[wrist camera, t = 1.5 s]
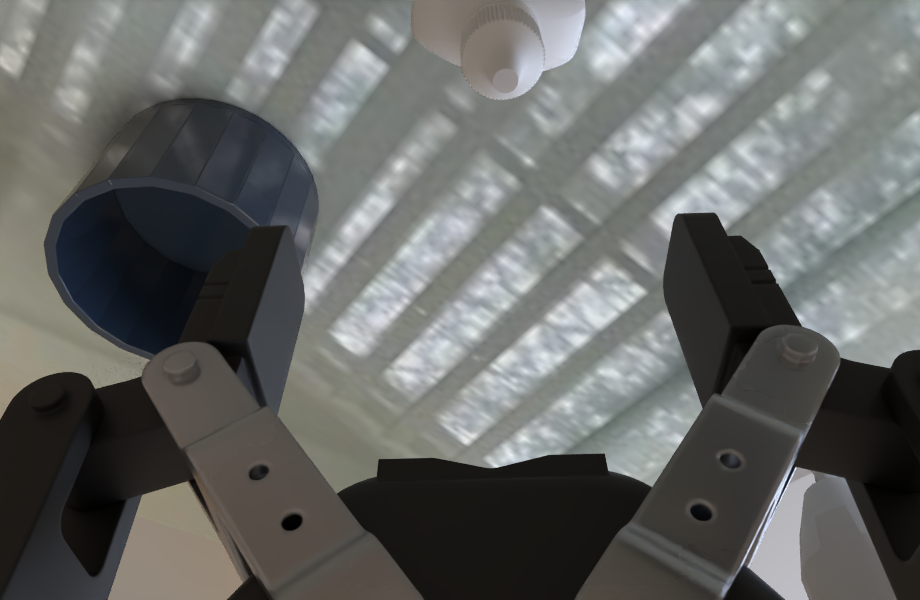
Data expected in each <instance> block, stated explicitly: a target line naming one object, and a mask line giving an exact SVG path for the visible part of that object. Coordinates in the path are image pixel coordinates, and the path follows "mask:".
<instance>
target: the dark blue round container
mask: <svg viewBox="0 0 920 600" xmlns="http://www.w3.org/2000/svg"><path fill="white" fill-rule="evenodd" d="M317 216H318V196H317V190H316V186H315V183H314V180H313V177H312V175H311V172H310V170H309V168H308V166H307V164H306V163H305V161H304V160H303V158H302V156H301V155H300V153H299V152H298V151H297V150H296V149H295V147H294V146H293V145H292V144H291V143H290V142H289V141H288V140H287V139H286V138H285V137H284V136H283V135H282V134H281V133H280V132H279V131H277V130H276V129H275V128H274V127H272V126H271V125H270V124H268V123H267V122H265V121H263V120H262V119H260V118H259V117H257V116H255V115H253V114H251V113H249V112H247V111H245V110H243V109H240V108H237V107H234V106H231V105H229V104H224V103H220V102H216V101H210V100H202V99H181V100H174V101H168V102H164V103H161V104H157V105H154V106H152V107H150V108H148V109H145V110H144V111H142V112H140V113H139V114H137V115H136V116H134V117H133V118H132V119H131V120H130V121H129V122H128V123H127V124H126V125H125V126H124V127H123V128H122V129H121V131H120V132H119V133H118V134H117V135H116V136H115V137H114V138H113V139H112V140H111V142H110V143H109V144H108V145H107V147H106V148H105V149H104V150H103V152H102V153H101V154H100V155H99V157H98V158H97V159H96V161H95V162H94V163H93V164H92V166H91V167H90V168H89V169H88V171H87V172H86V173H85V174H84V176H83V177H82V178H81V180H80V181H79V182H78V183H77V185H76V186H75V187H74V188H73V190H72V191H71V192H70V193H69V195H68V196H67V197H66V199H65V200H64V201H63V202H62V204H61V205H60V206H59V207H58V209H57V210H56V211H55V213H54V214H53V215H52V218H51V221H50V225H49V228H48V231H47V234H46V237H45V241H44V249H45V256H46V263H47V269H48V274H49V277H50V278H51V280H52V282H53V284H54V286H55V287H56V289H57V291H58V293H59V295H60V296H61V298H62V300H63V302H64V303H65V305H66V306H67V307H68V308H69V309H70V310H71V311H72V312H73V313H74V314H75V315H76V316H77V317H78V318H79V319H80V320H81V321H82V322H83V323H84V324H85V325H86V326H87V327H88V328H90V329H91V330H92V331H94V332H95V333H97V334H98V335H100V336H102V337H103V338H105V339H106V340H108V341H110V342H111V343H113V344H114V345H116V346H117V347H119V348H122V349H123V350H126V351H128V352H131V353H134V354H136V355H139V356H141V357H144V358H147V359H149V360H151V359H152V358H153V357H154V356H155V355H156V354H158V353H159V352H161V351H163V350H165V349H166V348H168V347H171V346H174V345H177V344H178V341H179V339H180V337H181V335H182V332H183V330H184V328H185V325H186V323H187V321H188V319H189V316H190V314H191V312H192V310H193V307H194V305H195V303H196V300H199V297H198V296H199V294H200V291H201V289H202V287H203V286H205V283H204V282H205V280H206V278H207V275H208V273H209V271H210V269H211V266H212V265H213V264H214V263H215V262H216V261H217V260H219V259H220V258H221V257H222V256H223V255H224V254H225V253H226V252H227V251H231V250H242V248H243V246H244V243H245V241H246V238H247V236H248V233H249V231H250V229H251V227H253V226H276V225H288V226H289V227H290V229H291V231H292V235H293V239H294V243H295V248H296V252H297V257H298V261H299V266H300V270H301V275H302V278H303V275H304V271H305V267H306V264H307V260H308V256H309V252H310V249H311V245H312V241H313V237H314V233H315V226H316V223H317Z"/></svg>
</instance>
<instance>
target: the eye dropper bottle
mask: <svg viewBox="0 0 920 600" xmlns="http://www.w3.org/2000/svg"><path fill="white" fill-rule="evenodd" d="M585 14H586V13H585V0H413V1H412V11H411V28H412V33H413V36H414V37H415V39H416V40H417V41H418V42H419V43H420V44H421V45H422V46H424V47H425V48H426V49H427V50H429V51H431V52H432V53H434V54H435V55H437V56H439V57H441V58H442V59H444V60H446V61H448V62H450V63H452V64H455V65H457V66H460V67H461V69H462V73H464V77H465V78H466V81H468V84H470V85H471V87H472V88H474V90H475V91H477V93H480V94H481V95H484V97H488V98H492V99H496V100H499V99H500V100H503V99H504V100H506V99H509V100H510V99H511V98H513V99H514V98H515V97H518V96H519V95H522V94H523V93H526V91H529V89H530V88H532V86H533V85H535V82H537V81H538V78H540V75H541V74H542V71H546V70H549V69H552V68H555V67H558V66H560V65H563V64H565V63H566V62H568V61H569V60H571V59H572V57H573V55H574V54H575V52H576V50H577V47H578V44H579V40H580V37H581V33H582V29H583V24H584V19H585Z"/></svg>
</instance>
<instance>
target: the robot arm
mask: <svg viewBox="0 0 920 600" xmlns="http://www.w3.org/2000/svg"><path fill="white" fill-rule="evenodd" d="M204 283H205V286H203V287H202V289H201V291H200V294H199V296H198V297H199V300H196V303H195V305H194V307H193V310H192V312H191V314H190V316H189V319H188V321H187V323H186V325H185V328H184V330H183V332H182V335H181V337H180V339H179V341H178V344H177V345H174V346H171V347H168V348H166V349H165V350H163V351H161V352H159V353H158V354H156V355H155V356H154V357H153V358H152V359H151V360H150V361H149V362H148V363H147V365H146V366H145V368H144V370H143V372H142V376H141V377H138V378H135V379H132V380H129V381H125V382H121V383H117V384H113V385H109V386H105V387H102V388H98V389H95V388H94V386H93V384H92V382H91V381H90V379H89V378H87V377H86V376H84V375H82V374H79V373H74V372H63V373H56V374H52V375H49V376H46V377H43V378H41V379H38V380H36V381H34V382H33V383H31V384H29V385H28V386H26V387H25V388H23V389H22V390H21V391H20V392H19V393H18V394H17V395H16V396H15V397H14V398H13V399H12V401H11V402H10V404H9V405H8V407H7V409H6V411H5V412H4V414H3V416H2V418H1V420H0V600H107V599H108V597H109V594H110V591H111V587H112V585H113V582H114V579H115V576H116V572H117V569H118V566H119V563H120V560H121V557H122V554H123V551H124V548H125V545H126V542H127V539H128V536H129V533H130V530H131V527H132V524H133V521H134V518H135V515H136V512H137V509H138V506H139V503H140V500H141V497H142V495H143V494H146V493H149V492H153V491H156V490H159V489H163V488H166V487H170V486H173V485H176V484H180V483H183V482H186V481H187V482H188V484H189V486H190V488H191V489H192V491H193V493H194V495H195V496H196V498H197V500H198V502H199V503H200V505H201V507H202V509H203V510H204V512H205V514H206V516H207V517H208V519H209V521H210V523H211V524H212V526H213V528H214V530H215V531H216V533H217V535H218V537H219V539H220V540H221V542H222V544H223V545H224V547H225V549H226V551H227V553H228V555H229V557H230V559H231V561H232V563H233V565H234V567H235V569H236V571H237V573H238V575H239V576H240V579H241V580H242V582H243V584H242V585H241V586H240V587H239V588H238V589H237V590H236V591H235V592H234V593H233V594H232V595H231V596H230V597H229V598H228V599H227V600H785V599H784V598H783V597H781V596H780V595H779V594H778V593H777V592H776V591H775V590H773V589H772V588H771V587H770V586H769V585H768V584H766V583H765V582H764V581H763V580H762V579H761V578H760V577H758V576H757V575H756V574H755V573H754V572H753V571H752V570H750V569H749V567H750V565H751V563H752V560H753V558H754V556H755V554H756V552H757V549H758V547H759V545H760V543H761V540H762V538H763V536H764V534H765V532H766V530H767V528H768V526H769V524H770V521H771V519H772V517H773V515H774V513H775V511H776V509H777V507H778V505H779V503H780V501H781V498H782V496H783V494H784V492H785V490H786V488H787V486H788V484H789V482H790V480H791V478H792V476H793V474H794V471H795V469H796V467H800V468H804V469H808V470H813V471H817V472H821V473H825V474H829V475H834V476H838V477H842V478H845V480H846V482H847V484H848V487H849V489H850V491H851V494H852V496H853V498H854V501H855V503H856V505H857V508H858V510H859V512H860V515H861V517H862V519H863V522H864V524H865V526H866V529H867V531H868V533H869V536H870V538H871V540H872V543H873V545H874V547H875V550H876V552H877V554H878V557H879V559H880V561H881V564H882V566H883V568H884V571H885V573H886V575H887V578H888V580H889V582H890V585H891V587H892V589H893V592H894V594H895V596H896V599H897V600H920V350H913V351H907V352H905V353H902V354H901V355H899V356H898V357H897V358H896V359H895V360H894V362H893V364H892V366H891V369H890V368H885V367H880V366H874V365H869V364H864V363H859V362H854V361H850V360H846V359H843V358H840V355H839V352H838V350H837V348H836V347H835V346H834V345H833V344H832V343H831V342H830V341H829V340H828V339H827V338H825V337H824V336H822V335H821V334H819V333H817V332H815V331H813V330H810V329H807V328H804V327H802V326H801V324H800V322H799V321H798V319H797V317H796V315H795V313H794V312H793V310H792V308H791V306H790V304H789V303H788V301H787V299H786V297H785V295H784V294H783V292H782V290H781V288H780V287H779V285H778V284H776V279H775V278H774V276H773V274H772V272H771V270H768V265H767V263H766V261H765V260H764V258H763V256H762V254H761V253H760V251H759V250H758V249H757V248H756V247H755V246H753V245H752V244H751V243H749V242H748V241H747V240H746V239H744V238H743V237H742V236H727V234H726V232H725V230H724V228H723V226H722V224H721V222H720V220H719V218H718V216H717V215H716V214H715V213H684V214H677V215H676V216H675V219H674V222H673V227H672V232H671V238H670V243H669V248H668V254H667V259H666V265H665V270H664V278H663V290H664V298H665V302H666V305H667V308H668V311H669V314H670V317H671V319H672V322H673V325H674V328H675V331H676V334H677V336H678V339H679V342H680V345H681V348H682V351H683V354H684V356H685V359H686V362H687V365H688V368H689V371H690V373H691V376H692V379H693V382H694V385H695V388H696V391H697V393H698V396H699V399H700V402H701V405H702V408H703V410H702V411H701V413H700V414H699V416H698V417H697V419H696V420H695V422H694V424H693V425H692V427H691V428H690V430H689V431H688V433H687V434H686V436H685V437H684V439H683V441H682V442H681V444H680V445H679V447H678V448H677V450H676V451H675V453H674V455H673V456H672V458H671V459H670V461H669V462H668V464H667V465H666V467H665V468H664V470H663V472H662V473H661V475H660V476H659V478H658V479H657V481H656V482H655V484H654V486H653V487H651V486H649V485H647V484H645V483H643V482H641V481H639V480H636V479H634V478H631V477H629V476H626V475H622V474H619V473H615V472H611V471H608V468H607V463H606V458H605V454H571V455H547V456H543V457H539V458H535V459H531V460H527V461H523V462H519V463H515V464H511V465H507V466H503V467H499V468H483V467H478V466H473V465H468V464H463V463H458V462H452V461H447V460H442V459H437V458H412V459H379V461H378V471H377V477H373V478H370V479H367V480H364V481H361V482H358V483H356V484H354V485H352V486H349V487H347V488H345V489H343V490H342V491H340V492H339V493H337V494H336V492H335V491H334V490H333V488H332V487H331V486H330V484H329V483H328V482H327V481H326V479H325V478H324V477H323V475H322V474H321V473H320V471H319V470H318V469H317V467H316V466H315V465H314V463H313V462H312V461H311V459H310V458H309V457H308V455H307V454H306V453H305V452H304V450H303V449H302V448H301V446H300V445H299V444H298V442H297V441H296V440H295V438H294V437H293V436H292V434H291V433H290V432H289V430H288V429H287V428H286V426H285V425H284V424H283V423H282V421H281V420H280V419H279V417H278V416H277V415H278V411H279V407H280V403H281V399H282V395H283V391H284V387H285V383H286V379H287V375H288V371H289V367H290V363H291V360H292V356H293V352H294V348H295V344H296V340H297V336H298V332H299V328H300V324H301V320H302V316H303V312H304V304H305V293H304V284H303V279H302V275H301V270H300V266H299V261H298V257H297V252H296V248H295V243H294V239H293V235H292V231H291V229H290V227H289V226H288V225H276V226H253V227H251V229H250V231H249V233H248V236H247V238H246V241H245V243H244V246H243V248H242V250H231V251H227V252H226V253H225V254H224V255H223V256H222V257H221V258H220V259H219V260H217V261H216V262H215V263H214V264H213V265H212V266H211V269H210V271H209V273H208V275H207V278H206V280H205V282H204Z"/></svg>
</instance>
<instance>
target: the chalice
mask: <svg viewBox="0 0 920 600" xmlns="http://www.w3.org/2000/svg"><path fill="white" fill-rule="evenodd" d="M811 471H812V473H813V474H814V476H815V481H816V483H814V484H812V485H811V486H810V487H809V488H808V489H807V490H806V492H805V494H804V501H803V510H802V519H801V528H800V558H801V577H802V578H801V579H802V583H803V585H804V588H805V590H806V593H807V595H808V598H809V600H897V599H896V596H895V594H894V592H893V589H892V587H891V585H890V582H889V580H888V578H887V575H886V573H885V571H884V568H883V566H882V564H881V561H880V559H879V557H878V554H877V552H876V550H875V547H874V545H873V543H872V540H871V538H870V536H869V533H868V531H867V529H866V526H865V524H864V522H863V519H862V517H861V515H860V512H859V510H858V508H857V505H856V503H855V501H854V498H853V496H852V494H851V491H850V489H849V487H848V484H847V482H846V480H845V478H842V477H838V476H834V475H829V474H825V473H821V472H817V471H813V470H811Z"/></svg>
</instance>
